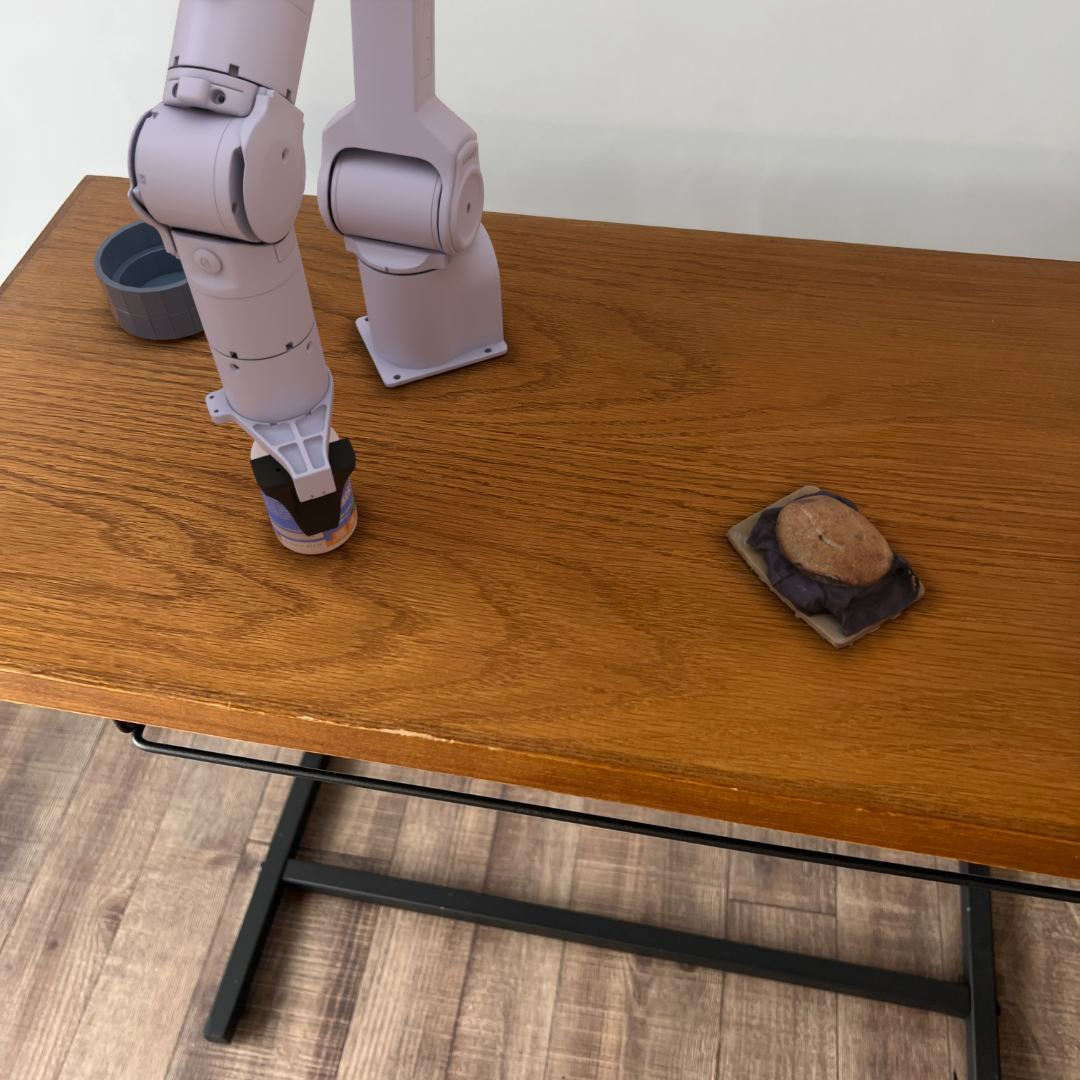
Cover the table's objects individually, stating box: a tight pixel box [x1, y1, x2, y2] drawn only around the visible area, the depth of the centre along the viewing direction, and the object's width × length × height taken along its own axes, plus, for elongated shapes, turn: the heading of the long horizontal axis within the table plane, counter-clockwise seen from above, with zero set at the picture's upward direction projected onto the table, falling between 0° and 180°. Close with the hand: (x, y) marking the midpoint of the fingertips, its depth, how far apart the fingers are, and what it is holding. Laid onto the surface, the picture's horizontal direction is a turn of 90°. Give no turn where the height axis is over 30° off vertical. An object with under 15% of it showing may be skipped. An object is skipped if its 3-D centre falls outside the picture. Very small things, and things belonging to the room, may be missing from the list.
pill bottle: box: [250, 426, 358, 555], centre depth 66 cm, size 5×5×10 cm
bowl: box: [92, 218, 204, 341], centre depth 82 cm, size 9×9×5 cm
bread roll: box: [725, 484, 926, 650], centre depth 66 cm, size 11×8×4 cm
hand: (308, 494), depth 68 cm, fingers closed on pill bottle, 5 cm apart
